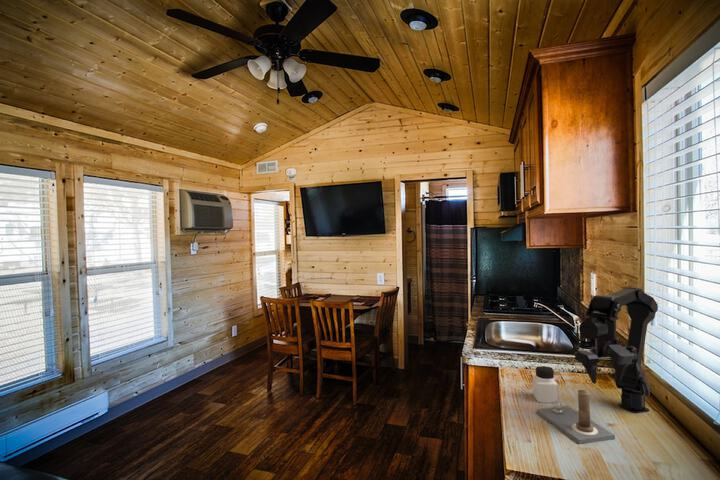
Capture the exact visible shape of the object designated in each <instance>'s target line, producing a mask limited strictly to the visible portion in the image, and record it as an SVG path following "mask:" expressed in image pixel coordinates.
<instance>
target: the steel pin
mask: <svg viewBox="0 0 720 480" xmlns="http://www.w3.org/2000/svg"><path fill="white" fill-rule="evenodd" d="M553 404H554V407H555V408H553V407H552V408H553V412H555V413H558V414H562V413H563V410H562V409H561V406H562V402H561V401H560V400H558V401H554V403H553Z"/></svg>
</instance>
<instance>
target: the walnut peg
mask: <svg viewBox="0 0 720 480" xmlns="http://www.w3.org/2000/svg"><path fill="white" fill-rule="evenodd" d="M577 400H578V401H577V404H578V405H577V406H578V413H579V422H577V423H576V428H577V429H578V430H580V431H583V432H593V426H592V425H591V424H590V420H591V414H590V413H591V410H590V409H591V408H590V407H591V405H590V391H588V390H585V389H578V390H577Z"/></svg>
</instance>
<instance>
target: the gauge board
mask: <svg viewBox="0 0 720 480" xmlns="http://www.w3.org/2000/svg"><path fill="white" fill-rule="evenodd" d="M553 408H555V406H554V407H545V408H539V409H536V414H537V415H538V416H540V417H541V418H543V419H544V418H545V419H544V420H546V421H547V420H548V421H549V423H550V424H551V423H552V424H551V425H552V426H554V427H555V428H556V429H558V430H559V429H560V430H559V431H561V432H562V433H564V434H565V435H567V436H568V437H569V438H571V439H572V440H573V441H574V442H576V443H577V444H579V445H583V444H591V443H597V442H603V441H610V440H615V439H616V434H615V433H612V432H611V431H609V430H608V429H606V428H604V427H603V426H601V425H600V424H598V423H596V422H595V421H592V420H591V419H590V424H591V425H592V426H593V432H583V431H580V430H578V429H577V428H576V423H577V422H579V411H576V409H574V408H572V407H570V406H569V405H561V409H562V410H563V413H562V414H558V413H555V412H553ZM548 421H547V422H548Z"/></svg>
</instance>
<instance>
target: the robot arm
mask: <svg viewBox="0 0 720 480" xmlns="http://www.w3.org/2000/svg"><path fill="white" fill-rule="evenodd" d="M623 306H625V307H626V311H627V314H628V316H629V318H630V324H629V325H630V326H629V331H628V335H627V343H626V346H623V345H622V344H621V339H619V338H617V321H618V320H619V317H618V314H619V313H620V312H622V307H623ZM658 309H659V305H658V302H657V301H656V300H655V298H654V297H653V296H651V295H650V294H647V293H646V292H644V291H643V289H642V288H639V287H634V286H633V287H631V286H626V287H623V288H622V289H620V290H618V291H615V292H613V293H611V294H596V295H593V297H592V298H591V299H590V301H589V305H588V306H587V310H586V313H585V318H584V319H585V320H584V321H582V322H580V325H579V326H578V330H579V333H580V334H581V336H582V337H583V338H585V339H587V340H595V347H592V352H591V351H589V350H578V351H576V352H575V353H574V360H576V361H577V362H578V363H580V364H582V366H583V368H584V370H585V371H586V373H587V375H588V376H589V379H590V380H591V381H590V382H591V383H592V384H594V385H596V384H597V369H598V368H599V366H600V365H599V362H600V360H607V359H608V360H609V359H611V360H612V363H613V368H614V369H613V370H614V375H613V377H614V381H615V383H614V384H615V387H616V389H619V390H621V394H620V398H621V399H620V402H619V403H618V404H617V405H618V406H619V407H622V408H623V409H625V410H627V411H629V412H631V413H634V414H637V413H642V412H643V411H644V412H649V411H650V408H647V407H646V398H645V397H646V396H647V397H648V396H651V395H650V393H651V387H652V386H651V385H650V384H649V382H648V380H647V379H646V372H645V370H644V368H643V366H642V361H643V355H644V348H645V342H646V336H647V331H648V325H649V324H650V323H651V322H652V321H653V320H654V319H655V317H656V313H657V312H658ZM644 412H643V413H644Z"/></svg>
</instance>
